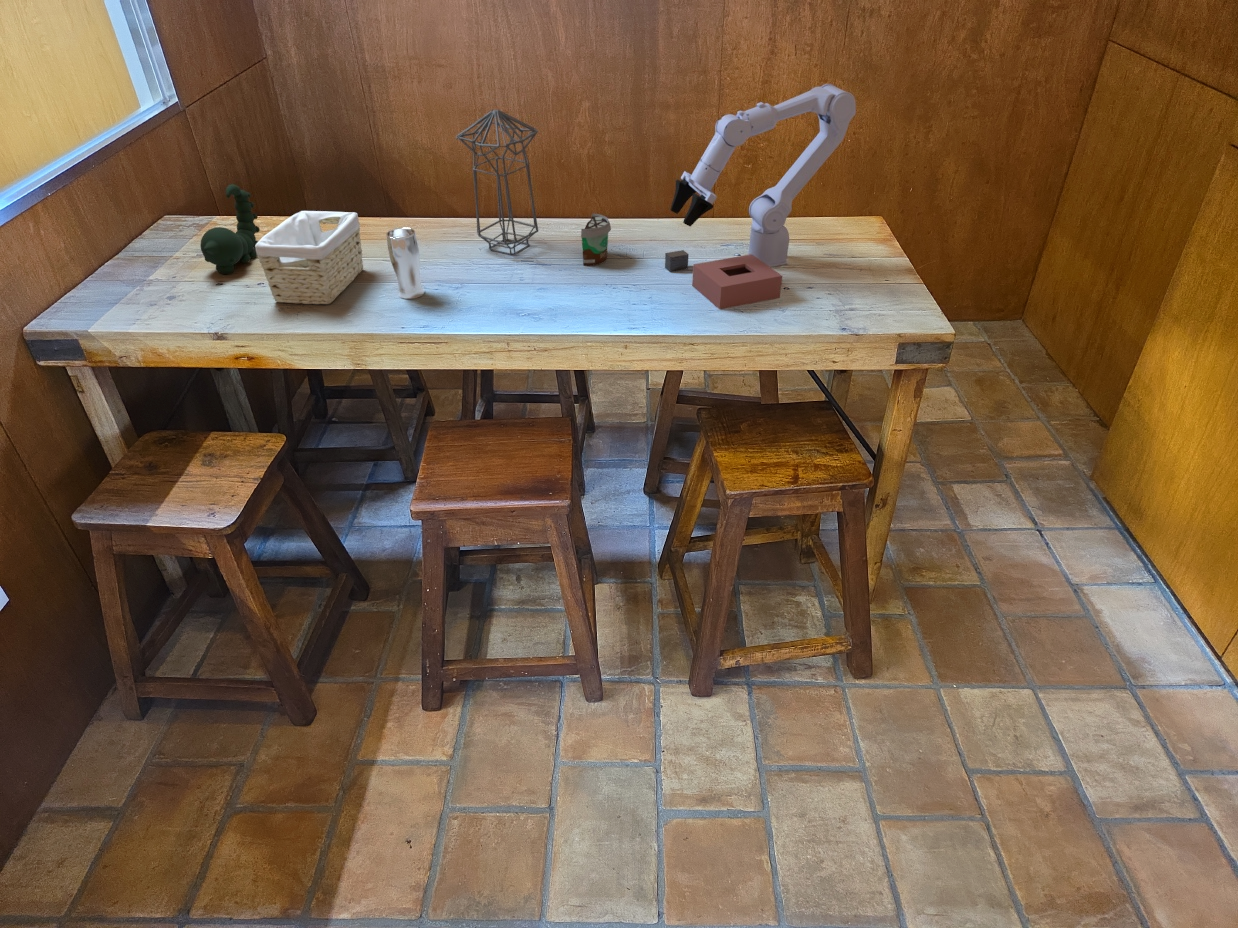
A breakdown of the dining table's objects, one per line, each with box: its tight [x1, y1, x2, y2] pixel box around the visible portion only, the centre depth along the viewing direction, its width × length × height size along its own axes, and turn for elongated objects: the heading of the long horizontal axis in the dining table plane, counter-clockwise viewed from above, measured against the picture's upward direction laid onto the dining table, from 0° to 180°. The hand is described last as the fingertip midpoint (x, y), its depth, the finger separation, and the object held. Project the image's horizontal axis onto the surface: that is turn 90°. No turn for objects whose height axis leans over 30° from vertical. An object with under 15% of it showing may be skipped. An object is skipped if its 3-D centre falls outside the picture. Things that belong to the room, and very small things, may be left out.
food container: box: [580, 212, 612, 267], centre depth 201 cm, size 12×6×10 cm, turn 168°
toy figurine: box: [199, 183, 260, 275], centre depth 197 cm, size 9×19×25 cm
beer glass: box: [385, 227, 425, 300], centre depth 183 cm, size 7×7×15 cm
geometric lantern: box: [455, 109, 539, 256], centre depth 200 cm, size 16×16×35 cm
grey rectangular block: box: [664, 249, 690, 273], centre depth 198 cm, size 5×3×4 cm, turn 112°
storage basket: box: [254, 210, 364, 305], centre depth 187 cm, size 24×16×15 cm
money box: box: [691, 254, 783, 310], centre depth 186 cm, size 16×14×6 cm
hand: (680, 218), depth 190 cm, fingers open, 7 cm apart
